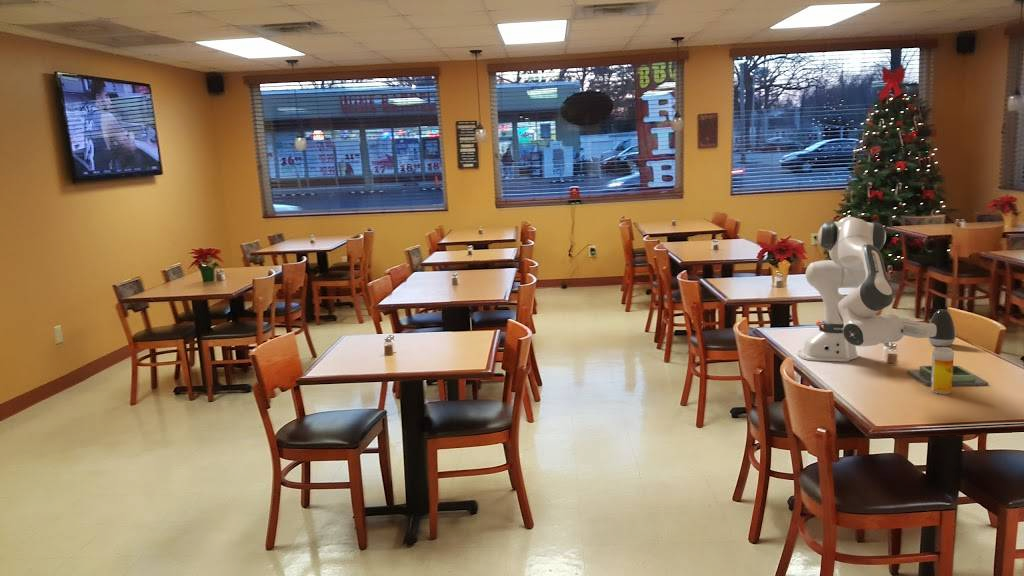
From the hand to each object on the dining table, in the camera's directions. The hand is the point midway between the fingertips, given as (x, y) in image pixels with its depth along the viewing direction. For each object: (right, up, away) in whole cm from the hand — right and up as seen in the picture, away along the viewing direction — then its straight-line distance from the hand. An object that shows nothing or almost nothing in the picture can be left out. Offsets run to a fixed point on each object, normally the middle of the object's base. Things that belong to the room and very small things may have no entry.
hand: (919, 323), depth 239 cm
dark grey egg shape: (+46, -12, +67) cm, 82 cm away
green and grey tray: (+22, -21, +22) cm, 37 cm away
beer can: (+12, -24, +9) cm, 28 cm away
